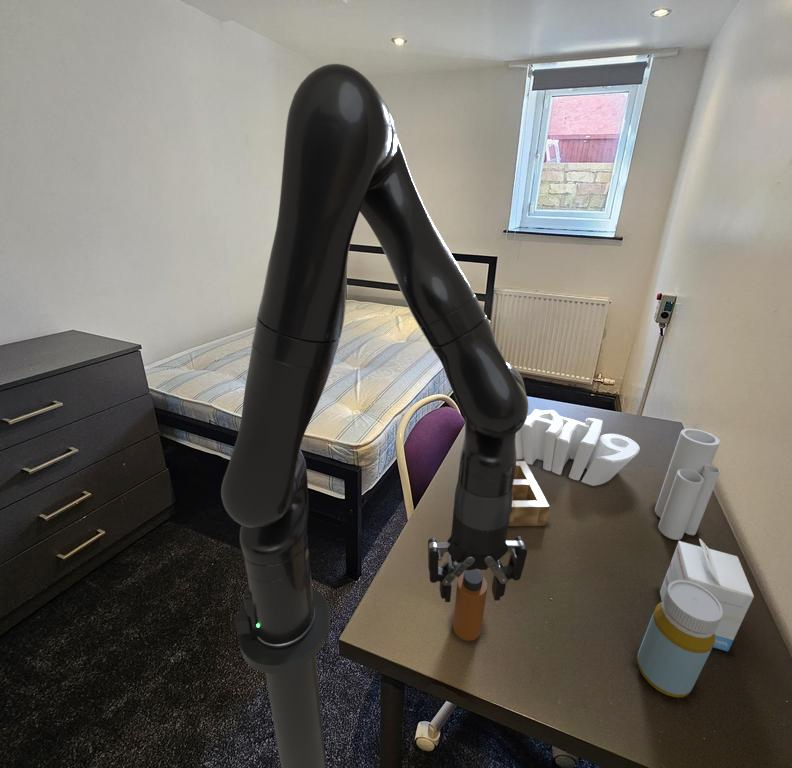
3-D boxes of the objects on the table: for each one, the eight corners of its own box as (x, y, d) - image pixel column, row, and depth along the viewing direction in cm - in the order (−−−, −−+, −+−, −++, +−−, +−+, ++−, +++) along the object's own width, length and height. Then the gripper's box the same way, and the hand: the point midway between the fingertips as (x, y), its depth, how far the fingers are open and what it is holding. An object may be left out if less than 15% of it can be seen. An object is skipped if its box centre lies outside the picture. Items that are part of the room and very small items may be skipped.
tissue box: (729, 654, 62) (762, 590, 57) (666, 633, 65) (692, 570, 59) (714, 607, 69) (742, 546, 64) (658, 590, 72) (680, 530, 67)
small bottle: (455, 641, 62) (460, 589, 58) (450, 614, 66) (456, 564, 62) (483, 640, 62) (491, 588, 58) (477, 614, 66) (484, 563, 62)
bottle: (626, 649, 62) (653, 577, 56) (671, 648, 62) (702, 576, 56) (652, 700, 55) (685, 625, 50) (702, 699, 56) (741, 624, 50)
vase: (652, 502, 94) (677, 425, 86) (688, 510, 92) (717, 432, 84) (660, 536, 84) (689, 453, 76) (700, 546, 82) (735, 462, 74)
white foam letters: (485, 448, 112) (489, 414, 108) (509, 425, 125) (514, 393, 121) (622, 500, 94) (633, 461, 90) (635, 467, 107) (645, 432, 103)
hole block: (502, 526, 85) (505, 507, 83) (485, 478, 100) (487, 460, 98) (546, 525, 86) (550, 506, 84) (522, 477, 101) (525, 460, 99)
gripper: (525, 490, 59) (511, 574, 66) (426, 491, 58) (421, 577, 64) (543, 527, 52) (525, 617, 59) (431, 529, 51) (425, 621, 58)
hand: (471, 596), depth 62 cm, fingers open, 7 cm apart
